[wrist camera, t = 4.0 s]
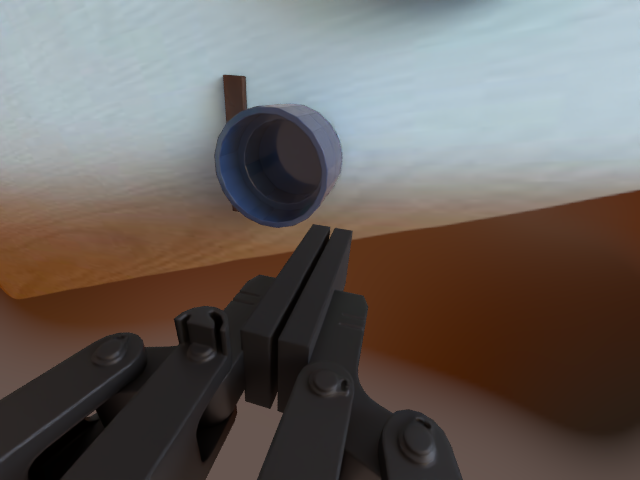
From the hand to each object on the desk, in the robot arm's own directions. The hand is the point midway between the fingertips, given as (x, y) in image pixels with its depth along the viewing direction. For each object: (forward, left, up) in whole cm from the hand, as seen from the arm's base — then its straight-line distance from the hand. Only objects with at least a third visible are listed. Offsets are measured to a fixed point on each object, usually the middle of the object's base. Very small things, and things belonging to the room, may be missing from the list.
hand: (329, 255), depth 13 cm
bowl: (-8, 0, -18) cm, 20 cm away
